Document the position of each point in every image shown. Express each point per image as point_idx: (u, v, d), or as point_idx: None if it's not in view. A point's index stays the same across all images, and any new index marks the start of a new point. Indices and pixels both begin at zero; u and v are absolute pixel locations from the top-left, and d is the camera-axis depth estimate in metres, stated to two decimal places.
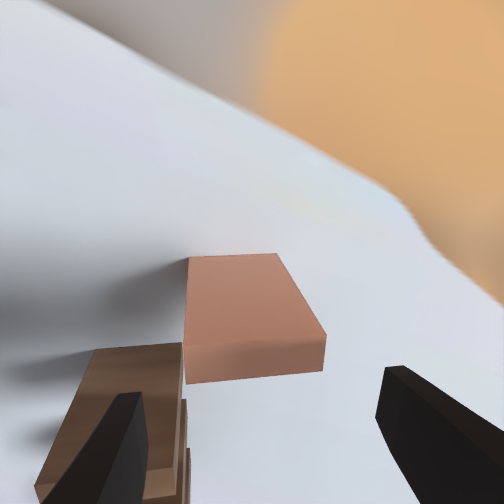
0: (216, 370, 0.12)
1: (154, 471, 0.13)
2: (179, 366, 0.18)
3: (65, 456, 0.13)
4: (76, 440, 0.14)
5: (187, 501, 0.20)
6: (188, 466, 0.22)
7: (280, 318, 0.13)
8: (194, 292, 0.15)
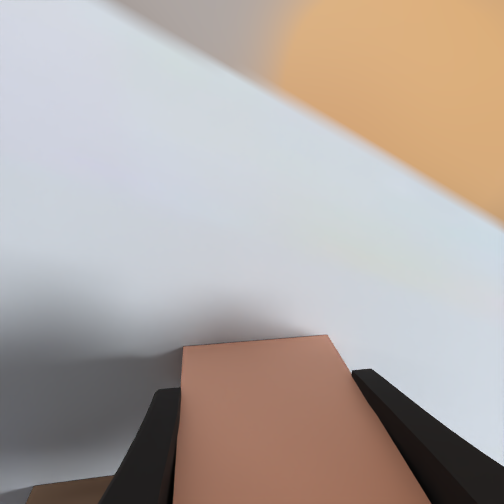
0: None
1: None
2: None
3: None
4: None
5: None
6: None
7: None
8: (190, 466, 0.07)
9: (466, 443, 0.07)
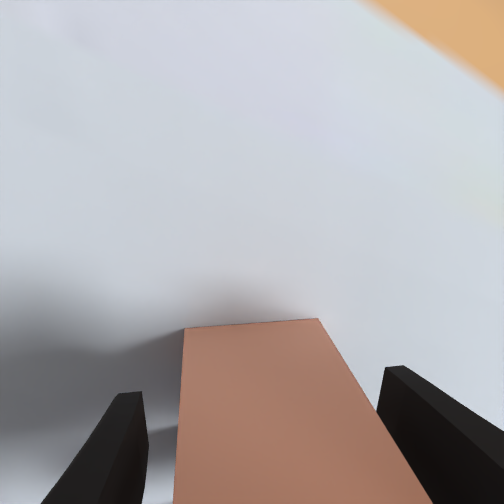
0: None
1: None
2: None
3: None
4: None
5: None
6: None
7: None
8: (191, 425, 0.08)
9: None
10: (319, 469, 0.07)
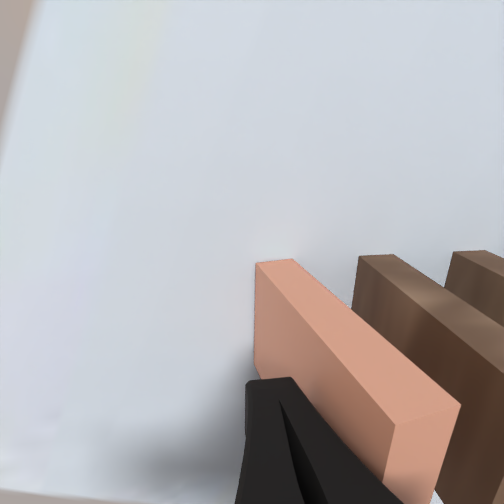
0: None
1: None
2: (385, 278, 0.12)
3: (449, 488, 0.09)
4: None
5: None
6: None
7: (349, 426, 0.08)
8: None
9: (354, 459, 0.06)
10: (323, 409, 0.09)
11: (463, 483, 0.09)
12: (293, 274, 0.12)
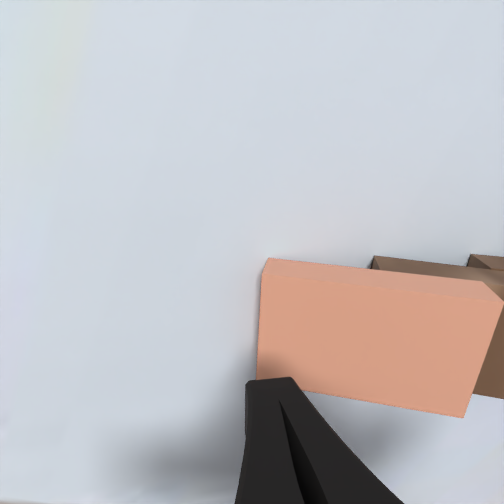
0: None
1: None
2: None
3: None
4: None
5: None
6: None
7: (452, 332, 0.11)
8: (360, 393, 0.13)
9: (354, 459, 0.06)
10: (415, 341, 0.12)
11: None
12: (303, 267, 0.13)
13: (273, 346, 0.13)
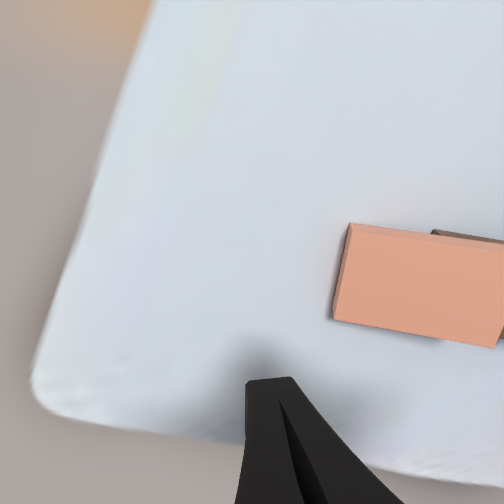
0: None
1: None
2: None
3: None
4: None
5: None
6: None
7: (493, 279, 0.16)
8: (416, 329, 0.17)
9: (354, 459, 0.06)
10: (464, 286, 0.16)
11: None
12: (379, 229, 0.17)
13: (352, 289, 0.17)
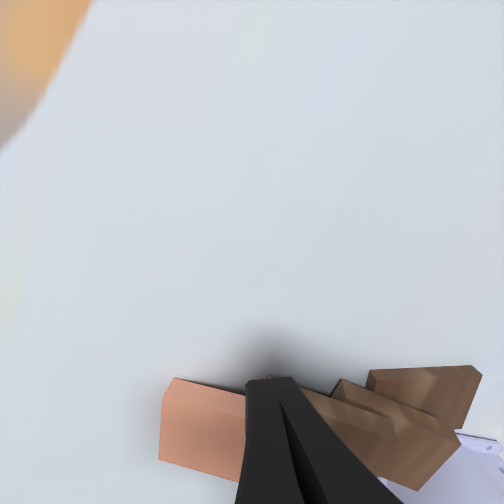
0: None
1: (392, 449, 0.19)
2: None
3: None
4: None
5: (425, 378, 0.22)
6: (394, 379, 0.22)
7: None
8: (223, 474, 0.20)
9: (354, 459, 0.06)
10: None
11: None
12: (192, 390, 0.20)
13: (169, 439, 0.20)
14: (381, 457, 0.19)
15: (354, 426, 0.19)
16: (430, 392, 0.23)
